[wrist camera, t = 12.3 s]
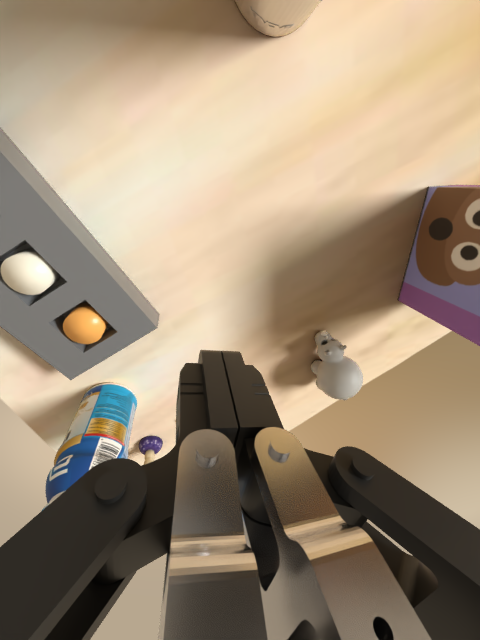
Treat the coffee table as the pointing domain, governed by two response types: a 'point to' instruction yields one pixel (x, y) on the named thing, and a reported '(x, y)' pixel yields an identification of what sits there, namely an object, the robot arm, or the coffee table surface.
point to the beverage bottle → (93, 436)
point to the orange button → (84, 324)
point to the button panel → (61, 273)
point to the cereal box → (447, 260)
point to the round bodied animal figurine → (335, 369)
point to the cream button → (28, 272)
